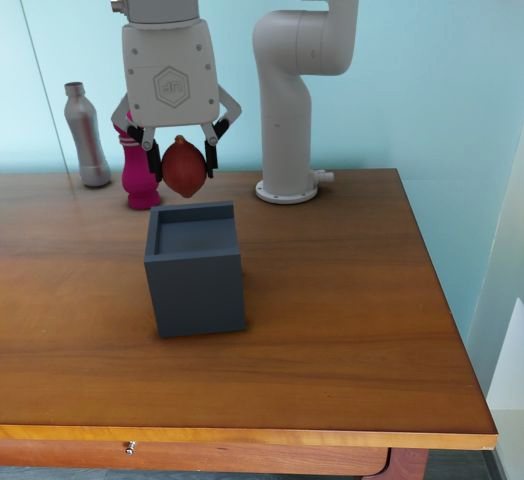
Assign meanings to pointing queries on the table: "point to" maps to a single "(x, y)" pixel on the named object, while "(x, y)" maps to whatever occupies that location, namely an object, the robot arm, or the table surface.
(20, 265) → the table surface
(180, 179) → the onion
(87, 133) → the plastic bottle
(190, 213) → the blue storage bin
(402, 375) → the table surface
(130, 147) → the pepper mill
